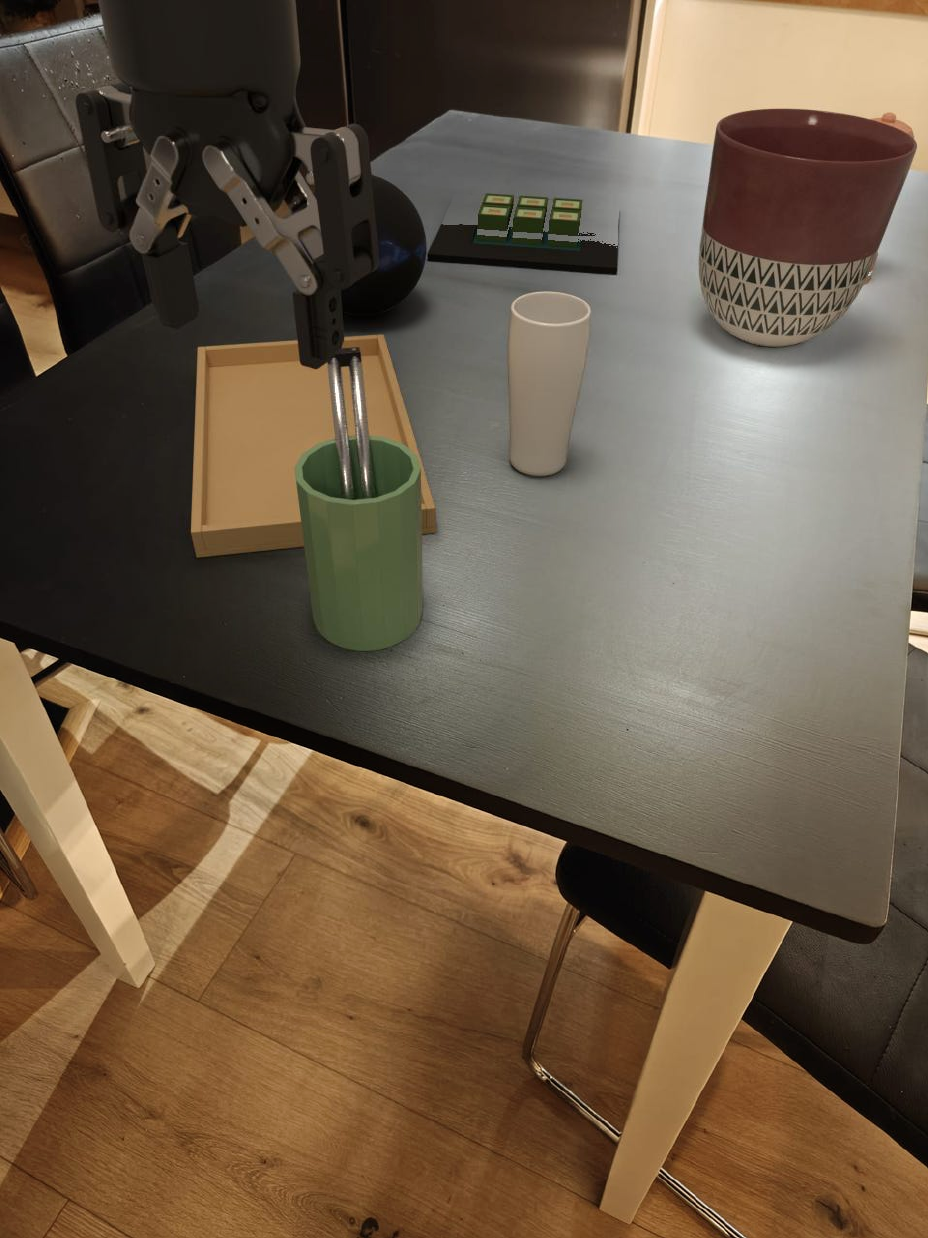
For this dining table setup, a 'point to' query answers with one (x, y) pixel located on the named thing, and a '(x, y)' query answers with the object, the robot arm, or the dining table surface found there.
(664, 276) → the dining table surface
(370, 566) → the green cup
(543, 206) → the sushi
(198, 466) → the tray
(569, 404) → the drinking glass
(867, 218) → the planter
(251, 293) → the dining table surface
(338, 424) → the tongs
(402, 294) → the decorative sphere
